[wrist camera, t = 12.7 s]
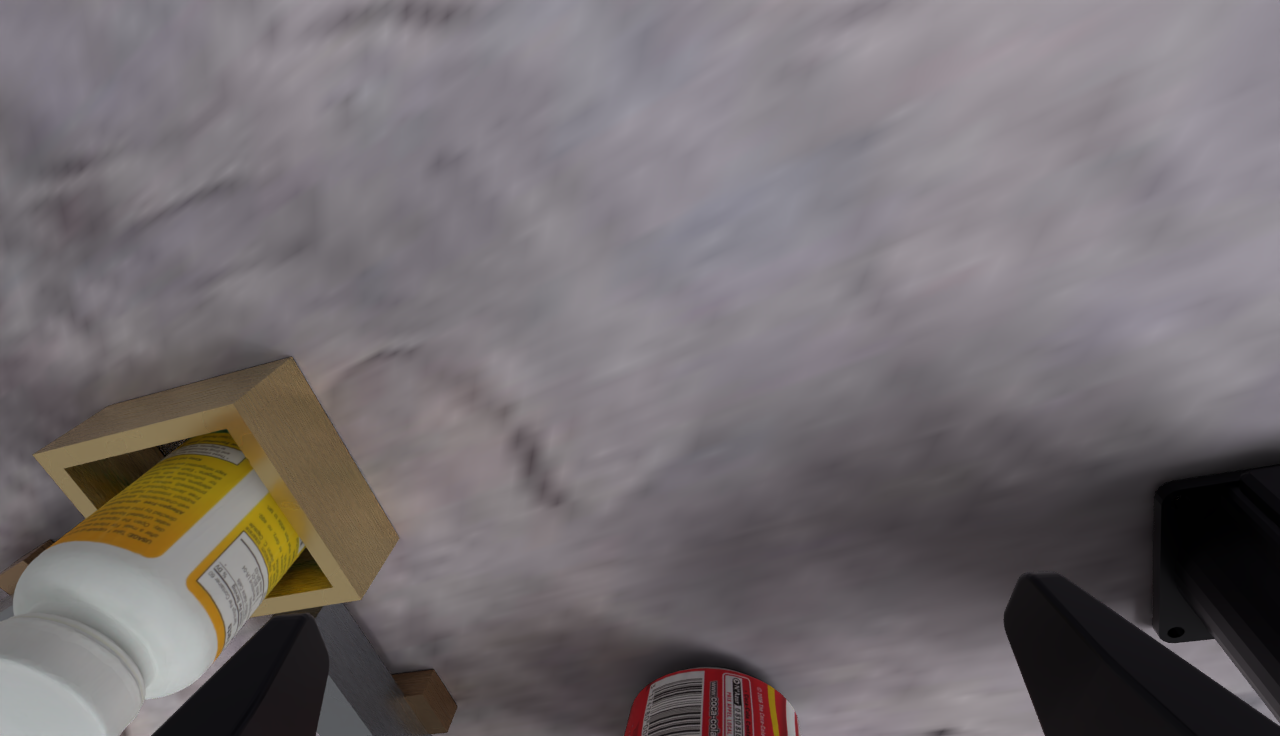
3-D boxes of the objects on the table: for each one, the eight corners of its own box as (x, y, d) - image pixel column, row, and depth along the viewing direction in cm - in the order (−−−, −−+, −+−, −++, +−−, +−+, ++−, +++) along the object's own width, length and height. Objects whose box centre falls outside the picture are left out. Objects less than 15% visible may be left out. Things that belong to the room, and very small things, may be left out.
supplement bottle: (365, 487, 24) (174, 738, 16) (285, 556, 26) (79, 810, 18) (240, 384, 23) (-44, 602, 14) (166, 466, 25) (-120, 697, 17)
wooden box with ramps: (511, 727, 30) (488, 804, 27) (179, 761, 34) (128, 830, 31) (291, 356, 22) (226, 409, 19) (-102, 461, 27) (-204, 517, 24)
